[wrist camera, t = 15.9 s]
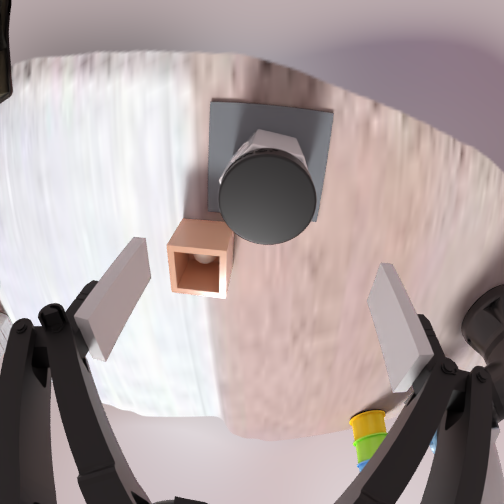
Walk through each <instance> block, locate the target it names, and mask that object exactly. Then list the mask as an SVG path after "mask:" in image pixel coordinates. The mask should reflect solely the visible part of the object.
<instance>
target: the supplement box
mask: <svg viewBox="0 0 504 504" xmlns="http://www.w3.org/2000/svg"><path fill="white" fill-rule="evenodd" d="M12 325H13V324H12V322H11V320H10V318H9V316H7V315H5V314H2V313H0V359H1V357H2V356H3V354H4V352H5V349H6V345H7V341H8V337H9V333H10V329H11V327H12Z"/></svg>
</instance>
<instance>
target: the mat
mask: <svg viewBox="0 0 504 504" xmlns="http://www.w3.org/2000/svg"><path fill="white" fill-rule="evenodd" d="M333 114H334V113H329V112H323V111H316V110H309V109H302V108H294V107H285V106H275V105H264V104H251V103H234V102H210V124H209V157H208V211H209V212H220V209H219V204H218V193H219V187H220V183H219V179H220V177H221V175H222V173H223V172H224V170H225V168H226V166H227V165H228V163H229V161H230V159H231V158H232V156H233V155H234V154H235V153H236V151H237V150H238V149H239V148H240V147H241V146H242V145H243V144H244V143H245V142H246V141H247V140H248V139H249V138H250V137H251V136H252V135H253V133H254V132H255V131H256V130H258V129H261V130H265V131H270V132H274V133H278V134H282V135H286V136H290V137H294V138H297V140H298V143H299V145H300V147H301V150H302V152H303V155H304V157H305V161H306V164H307V168H308V171H309V173H310V175H311V178H312V181H313V183H314V186H315V190H316V196H317V204H316V210H315V213H314V216H313V218H312V220H311V221H313V222H316V221H317V216H318V210H319V205H320V199H321V194H322V188H323V182H324V176H325V169H326V163H327V157H328V150H329V143H330V136H331V129H332V122H333Z"/></svg>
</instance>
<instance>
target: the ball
mask: <svg viewBox="0 0 504 504" xmlns="http://www.w3.org/2000/svg"><path fill="white" fill-rule="evenodd" d="M193 255H194V257H195V259H196V260H197V261H198V262H200V263H203V264H208V263H211V262H212V261H213V260H214V259H215V258H216V256H212V255H202V254H193Z"/></svg>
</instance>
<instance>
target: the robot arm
mask: <svg viewBox="0 0 504 504" xmlns="http://www.w3.org/2000/svg"><path fill="white" fill-rule="evenodd" d="M150 279H151V273H150V267H149V260H148V252H147V244H146V238H139V237H133V239H132V240H131V241H130V242H129V243H128V245H127V246H126V247H125V248H124V250H123V251H122V252H121V253H120V254H119V256H118V257H117V258H116V260H115V261H114V262H113V263H112V265H111V266H110V267H109V268H108V270H107V271H106V272H105V274H104V275H103V276H102V278H101V279H100V280H99V281H94V280H93V281H91V282H90V283H88V284H87V285H86V286H85V287H84V288H83V289H82V291H81V292H80V294H79V295H78V296H77V297H76V299H75V300H74V301H73V303H72V304H71V305H70V307H69V308H68V309H67V311H66V312H65V311H64V308H63V306H62V305H60V304H57V303H53V304H49V305H47V306H45V307H44V308H42V309H41V311H40V312H39V314H38V319H39V321H40V323H41V325H42V326H33V324H32V322H31V320H29V319H28V318H23V319H19V320H18V321H16V322H15V323H14V324H13V325H12V327H11V329H10V333H9V337H8V341H7V345H6V349H5V354H4V358H3V363H2V369H1V374H0V504H57V501H56V491H55V484H54V476H53V466H52V455H51V433H50V399H51V378H52V381H53V386H54V390H55V395H56V399H57V403H58V407H59V411H60V415H61V419H62V423H63V426H64V429H65V433H66V436H67V439H68V442H69V446H70V449H71V451H72V454H73V457H74V460H75V463H76V465H77V468H78V471H79V476H78V477H77V479H78V484H79V487H80V489H81V492H82V494H83V496H84V499H85V501H86V503H87V504H152V503H151V501H150V500H149V498H148V496H147V495H146V493H145V492H144V491H143V489H142V488H141V486H140V485H139V484H138V482H137V480H136V479H135V477H134V475H133V473H132V471H131V469H130V467H129V465H128V463H127V461H126V459H125V457H124V455H123V453H122V451H121V448H120V446H119V444H118V442H117V440H116V437H115V436H114V433H113V431H112V428H111V426H110V424H109V421H108V418H107V416H106V413H105V411H104V408H103V406H102V403H101V400H100V398H99V395H98V392H97V389H96V386H95V383H94V380H93V377H92V374H91V371H90V368H89V364H88V361H87V359H86V357H85V356H86V354H87V352H88V351H89V352H90V354H91V356H92V358H94V359H97V360H100V361H104V362H106V361H107V359H108V357H109V355H110V353H111V351H112V349H113V347H114V345H115V343H116V341H117V339H118V337H119V335H120V333H121V331H122V330H123V328H124V326H125V324H126V322H127V320H128V318H129V316H130V315H131V313H132V311H133V309H134V307H135V306H136V304H137V302H138V300H139V298H140V297H141V295H142V293H143V291H144V289H145V288H146V286H147V284H148V283H149V281H150ZM367 302H368V306H369V309H370V312H371V315H372V318H373V322H374V325H375V328H376V332H377V335H378V339H379V342H380V346H381V349H382V353H383V356H384V360H385V364H386V368H387V372H388V376H389V380H390V384H391V388H392V392H393V393H396V392H407V390H408V389H409V388H410V387H411V385H413V389H414V392H413V393H412V394H411V395H410V397H409V398H408V399H407V400H406V401H405V403H404V404H406V405H405V406H404V408H403V410H402V411H401V413H400V415H399V416H398V418H397V420H396V421H395V423H394V425H393V427H392V428H391V429H390V431H389V432H388V434H387V435H386V437H385V438H384V440H383V441H382V443H381V444H380V446H379V447H378V449H377V450H376V452H375V453H374V454H373V456H372V457H371V459H370V460H369V461H368V463H367V464H366V465H365V467H364V468H363V469H362V471H361V472H360V473H359V475H358V476H357V477H356V478H355V480H354V481H353V482H352V483H351V485H350V486H349V487H348V488H347V489H346V490H345V492H344V493H343V494H342V495H341V497H340V498H339V499H338V500H337V501H336V502H335V503H334V504H395V503H396V501H397V500H398V498H399V497H400V495H401V494H402V492H403V491H404V489H405V487H406V486H407V484H408V482H409V481H410V479H411V478H412V476H413V474H414V472H415V471H416V469H417V467H418V465H419V464H420V462H421V460H422V458H423V456H424V455H425V453H426V451H427V449H428V447H429V445H430V447H431V450H432V452H433V453H434V454H435V455H434V459H433V463H432V467H431V471H430V474H429V478H428V481H427V485H426V488H425V491H424V494H423V497H422V501H421V503H420V504H504V478H503V473H502V469H501V464H500V460H499V456H498V452H497V449H496V445H495V441H496V439H497V437H498V435H499V433H500V429H499V426H498V423H499V422H500V421H501V420H503V419H504V285H501V286H498V287H495V288H493V289H491V290H490V291H488V292H487V293H485V294H484V295H483V296H482V297H481V298H480V299H479V300H478V301H477V302H476V303H475V304H474V305H473V306H472V307H471V309H470V310H469V311H468V313H467V315H466V316H465V318H464V321H463V324H462V334H463V336H464V338H465V340H466V342H467V343H468V344H469V345H470V346H471V347H472V348H473V349H474V350H476V351H477V352H478V353H479V354H480V355H481V356H482V357H483V358H484V360H485V362H486V364H487V366H486V367H482V366H476V367H474V368H473V369H472V371H471V372H467V371H463V370H459V369H458V366H457V365H456V364H455V362H453V361H452V360H451V359H449V358H445V355H444V353H443V350H442V348H441V346H440V343H439V341H438V339H437V337H436V334H435V332H434V331H433V328H432V326H431V323H430V321H429V320H428V319H427V318H426V317H425V316H424V315H423V314H417V313H416V311H415V309H414V307H413V304H412V302H411V300H410V298H409V296H408V294H407V292H406V290H405V288H404V286H403V284H402V282H401V280H400V278H399V276H398V274H397V272H396V270H395V268H394V266H393V264H388V263H380V266H379V269H378V272H377V275H376V277H375V280H374V283H373V286H372V288H371V291H370V294H369V296H368V299H367ZM153 504H207V503H205V502H200V501H195V500H190V499H184V498H180V497H176V496H175V499H174V500H166V501H160V502H156V503H153Z"/></svg>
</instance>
